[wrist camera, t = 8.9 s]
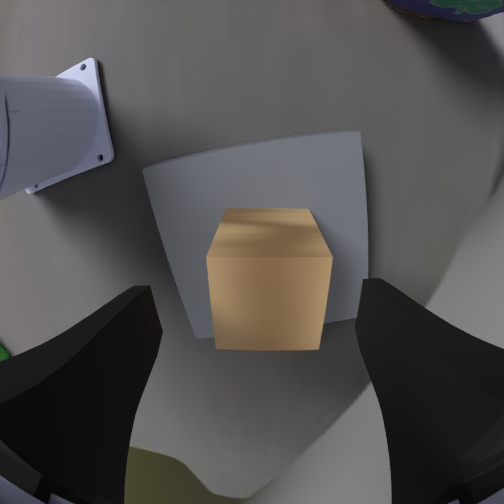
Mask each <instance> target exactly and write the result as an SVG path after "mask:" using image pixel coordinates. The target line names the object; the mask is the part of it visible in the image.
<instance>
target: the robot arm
mask: <svg viewBox="0 0 504 504" xmlns="http://www.w3.org/2000/svg"><path fill="white" fill-rule="evenodd" d="M85 65H86V68H85V70H83V67H84V66H85ZM100 155H103V161H102V160H101V159H100ZM113 159H114V150H113V146H112V141H111V137H110V132H109V128H108V123H107V118H106V113H105V108H104V102H103V97H102V91H101V85H100V79H99V72H98V65H97V60H96V59H94V58H88V59H86V60H84V61H83V62H81V63H79V64H77V65H75V66H73V67H72V68H70V69H68V70H66V71H65V72H63V73H61V74H59V75H58V76H56V77H48V76H33V75H0V200H2V199H5V198H7V197H9V196H11V195H13V194H15V193H18V192H20V191H22V190H24V189H26V192H27V193H28V194H32V193H34V192H36V191H38V190H41V189H43V188H45V187H47V186H50V185H52V184H54V183H57V182H59V181H61V180H64V179H66V178H69V177H71V176H74V175H76V174H79V173H81V172H84V171H87V170H89V169H92V168H95V167H97V166H100V165H103V164H106V163H109V162H111V161H112V160H113ZM37 184H38V186H37ZM355 330H356V334H357V339H358V343H359V347H360V351H361V354H362V357H363V359H364V362H365V365H366V368H367V370H368V373H369V376H370V379H371V381H372V384H373V387H374V390H375V392H376V395H377V398H378V401H379V404H380V408H381V411H382V415H383V421H384V426H385V431H386V437H387V444H388V450H389V457H390V458H389V459H390V470H391V484H392V485H391V486H392V504H504V349H502V348H500V347H497V346H495V345H492V344H490V343H488V342H485V341H483V340H481V339H478V338H476V337H474V336H472V335H470V334H468V333H466V332H464V331H462V330H460V329H459V328H457V327H455V326H453V325H451V324H449V323H448V322H446V321H445V320H443V319H441V318H440V317H438V316H437V315H435V314H433V313H432V312H430V311H429V310H427V309H426V308H424V307H423V306H421V305H420V304H418V303H417V302H415V301H414V300H412V299H411V298H409V297H408V296H407V295H405V294H404V293H402V292H401V291H399V290H398V289H396V288H395V287H393V286H392V285H390V284H389V283H387V282H386V281H384V280H382V279H380V278H371V279H363V282H362V288H361V295H360V301H359V307H358V312H357V318H356V323H355ZM162 333H163V331H162V327H161V324H160V320H159V317H158V313H157V310H156V306H155V303H154V299H153V295H152V291H151V287H150V286H133V287H131V288H129V289H128V290H126V291H124V292H123V293H121V294H120V295H118V296H117V297H115V298H114V299H113V300H111V301H110V302H108V303H107V304H105V305H104V306H102V307H101V308H100V309H98V310H97V311H95V312H94V313H92V314H91V315H89V316H88V317H86V318H85V319H83V320H82V321H80V322H79V323H77V324H76V325H74V326H73V327H71V328H70V329H68V330H66V331H65V332H63V333H61V334H60V335H58V336H56V337H54V338H52V339H51V340H49V341H47V342H45V343H43V344H41V345H39V346H37V347H34V348H32V349H30V350H28V351H25V352H23V353H21V354H19V355H16V356H13V357H11V358H8V359H5V360H2V361H0V504H124V488H125V474H126V464H127V455H128V449H129V443H130V437H131V432H132V428H133V423H134V419H135V414H136V411H137V408H138V405H139V402H140V399H141V397H142V394H143V391H144V389H145V386H146V383H147V381H148V378H149V376H150V373H151V370H152V368H153V365H154V363H155V360H156V357H157V354H158V350H159V346H160V342H161V337H162Z"/></svg>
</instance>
